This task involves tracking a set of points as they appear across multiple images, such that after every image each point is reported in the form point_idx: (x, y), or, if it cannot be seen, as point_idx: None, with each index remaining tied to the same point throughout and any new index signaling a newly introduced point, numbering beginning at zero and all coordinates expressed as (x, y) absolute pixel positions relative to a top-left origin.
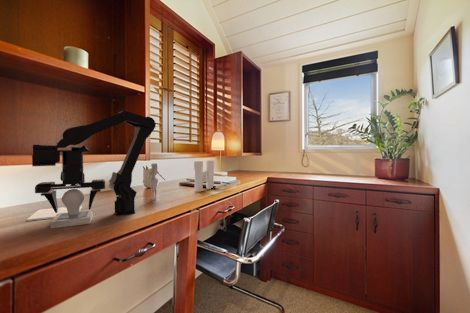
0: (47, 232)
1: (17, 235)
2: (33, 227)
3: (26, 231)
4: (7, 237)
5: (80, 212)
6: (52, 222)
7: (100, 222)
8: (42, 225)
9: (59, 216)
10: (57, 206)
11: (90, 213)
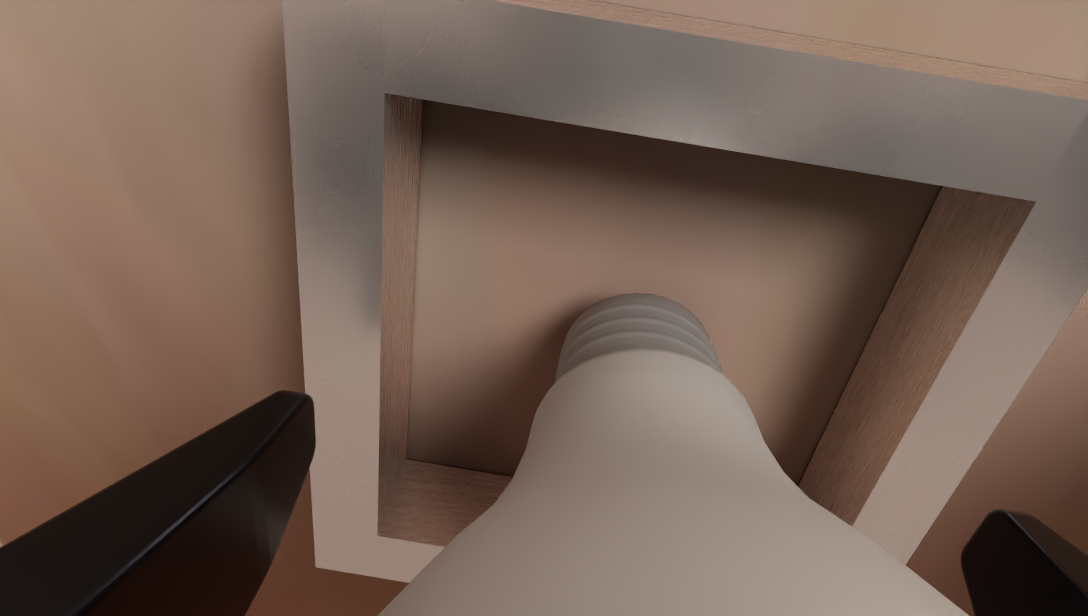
0: (359, 595)
1: None
2: (101, 318)
3: (102, 445)
4: (12, 532)
5: (825, 159)
6: (349, 562)
7: (944, 594)
8: (193, 285)
9: (382, 305)
10: (235, 486)
11: (955, 451)
